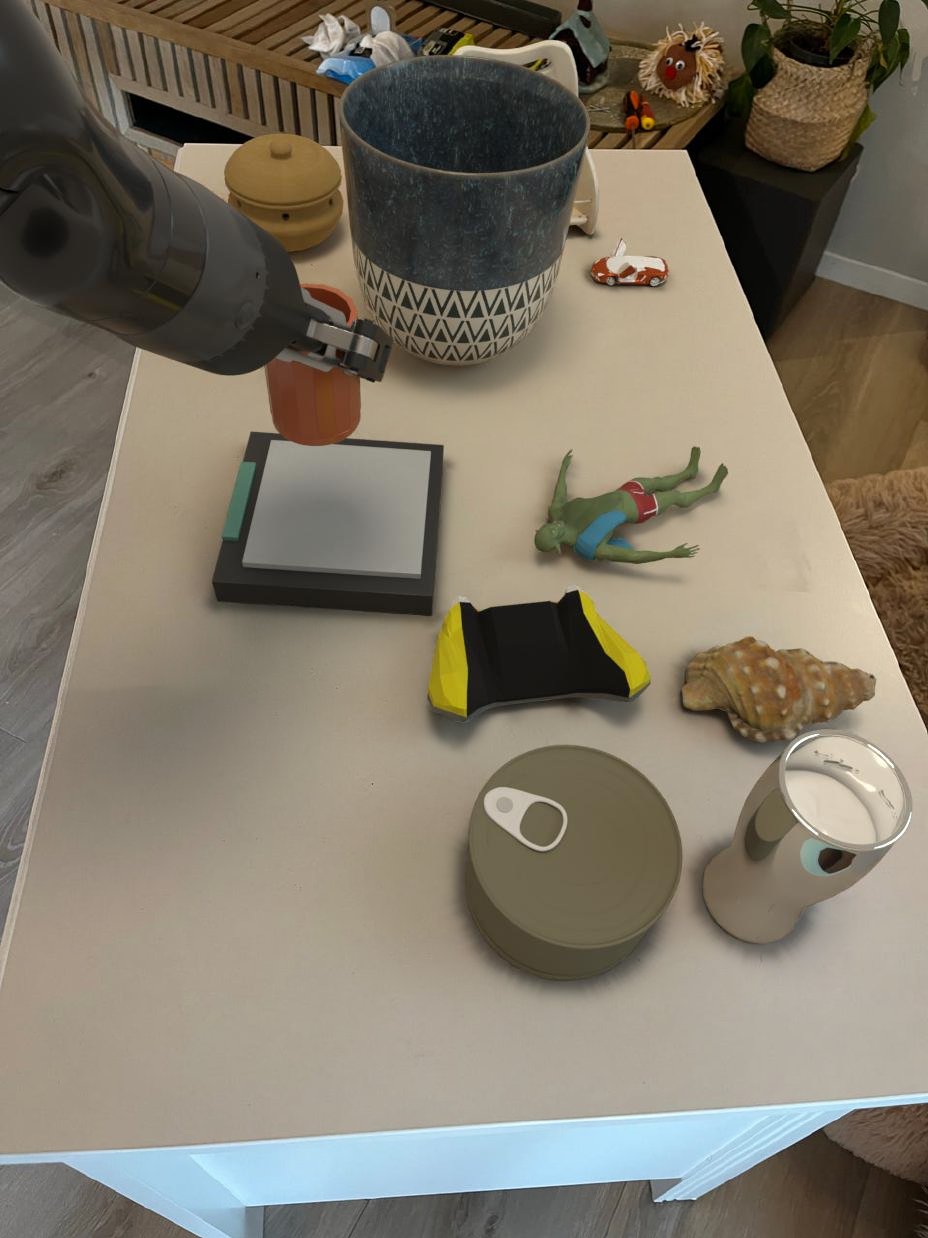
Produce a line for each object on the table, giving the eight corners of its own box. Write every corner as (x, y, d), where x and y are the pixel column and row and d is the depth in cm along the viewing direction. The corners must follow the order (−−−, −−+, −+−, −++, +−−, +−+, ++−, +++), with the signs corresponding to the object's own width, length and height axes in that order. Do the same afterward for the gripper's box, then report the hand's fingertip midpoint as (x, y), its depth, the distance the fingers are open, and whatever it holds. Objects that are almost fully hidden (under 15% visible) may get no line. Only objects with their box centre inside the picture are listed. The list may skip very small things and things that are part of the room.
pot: (341, 205, 101) (337, 111, 93) (348, 266, 94) (344, 170, 86) (233, 206, 100) (219, 111, 92) (232, 269, 93) (216, 171, 85)
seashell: (754, 670, 71) (865, 618, 63) (775, 771, 67) (895, 729, 60) (666, 647, 66) (774, 588, 59) (683, 755, 63) (800, 706, 55)
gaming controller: (645, 726, 64) (607, 612, 69) (663, 683, 59) (622, 565, 65) (432, 753, 61) (411, 633, 67) (435, 711, 57) (412, 586, 63)
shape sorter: (566, 189, 106) (593, 18, 92) (595, 240, 100) (629, 64, 86) (399, 201, 102) (400, 24, 88) (419, 254, 96) (423, 73, 82)
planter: (578, 396, 84) (625, 165, 67) (369, 420, 81) (363, 183, 63) (521, 274, 95) (548, 49, 78) (335, 291, 92) (321, 58, 74)
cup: (265, 443, 59) (249, 338, 52) (279, 384, 62) (266, 279, 56) (355, 449, 59) (350, 346, 52) (365, 391, 62) (361, 287, 56)
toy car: (587, 261, 97) (592, 234, 95) (661, 264, 98) (668, 236, 95) (593, 290, 94) (598, 262, 92) (669, 293, 95) (676, 265, 92)
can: (613, 1023, 52) (639, 990, 46) (426, 924, 55) (430, 882, 49) (680, 846, 58) (710, 799, 53) (511, 765, 61) (523, 712, 56)
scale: (216, 601, 68) (210, 576, 65) (254, 452, 77) (249, 425, 75) (431, 615, 68) (433, 591, 66) (442, 465, 78) (444, 439, 75)
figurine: (784, 500, 71) (604, 584, 64) (772, 539, 74) (598, 625, 67) (649, 410, 81) (480, 476, 74) (643, 448, 83) (479, 515, 76)
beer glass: (691, 835, 59) (767, 717, 47) (799, 848, 59) (903, 733, 47) (697, 944, 55) (782, 845, 43) (813, 958, 55) (930, 863, 43)
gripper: (352, 235, 40) (446, 321, 56) (74, 154, 43) (241, 259, 59) (304, 403, 41) (410, 439, 57) (36, 314, 44) (210, 373, 60)
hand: (324, 347), depth 58 cm, fingers closed on cup, 6 cm apart
